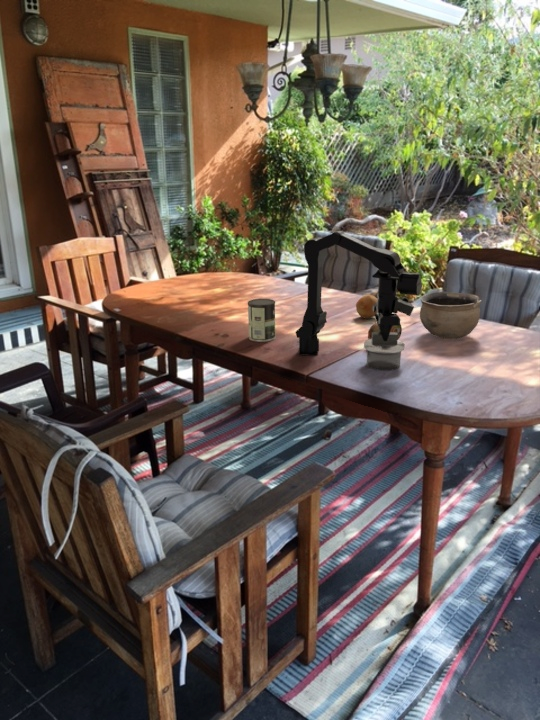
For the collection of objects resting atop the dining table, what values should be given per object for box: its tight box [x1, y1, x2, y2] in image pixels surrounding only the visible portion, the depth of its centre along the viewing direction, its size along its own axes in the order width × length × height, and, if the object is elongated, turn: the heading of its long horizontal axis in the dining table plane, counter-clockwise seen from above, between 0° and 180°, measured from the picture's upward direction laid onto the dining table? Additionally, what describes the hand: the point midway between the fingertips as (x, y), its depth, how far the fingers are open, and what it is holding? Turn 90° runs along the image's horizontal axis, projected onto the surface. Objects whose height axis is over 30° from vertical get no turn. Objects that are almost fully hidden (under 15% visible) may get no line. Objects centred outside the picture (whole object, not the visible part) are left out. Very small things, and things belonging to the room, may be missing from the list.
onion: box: [355, 293, 378, 320], centre depth 252 cm, size 10×10×10 cm
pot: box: [366, 350, 402, 371], centre depth 201 cm, size 11×16×6 cm
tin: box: [367, 322, 403, 340], centre depth 219 cm, size 15×3×8 cm, turn 125°
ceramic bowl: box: [419, 291, 482, 340], centre depth 226 cm, size 22×22×15 cm
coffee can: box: [247, 298, 276, 343], centre depth 226 cm, size 10×10×14 cm
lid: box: [363, 332, 405, 354], centre depth 197 cm, size 13×13×5 cm
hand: (384, 339), depth 197 cm, fingers open, 4 cm apart
